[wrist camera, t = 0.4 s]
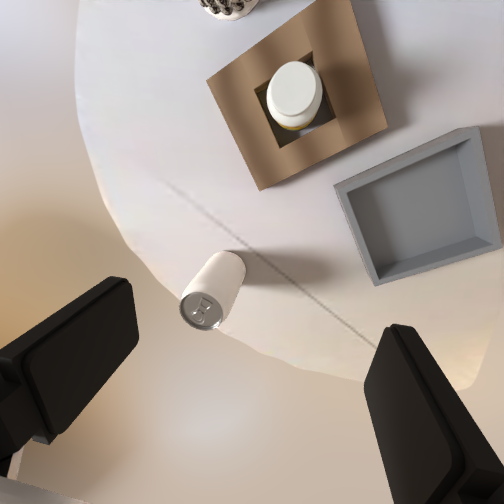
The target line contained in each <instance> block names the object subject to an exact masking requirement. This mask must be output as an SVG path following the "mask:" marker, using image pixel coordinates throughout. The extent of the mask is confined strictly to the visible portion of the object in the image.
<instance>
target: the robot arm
mask: <svg viewBox="0 0 504 504" xmlns="http://www.w3.org/2000/svg"><path fill="white" fill-rule="evenodd" d="M138 340H139V331H138V325H137V318H136V311H135V304H134V298H133V290H132V285H131V284H130V283H129V282H128V280H127V279H125V278H120V277H114V276H110V277H108V278H106V279H105V280H103V281H102V282H100V283H99V284H97V285H96V286H94V287H93V288H91V289H90V290H88V291H87V292H85V293H84V294H82V295H81V296H79V297H78V298H76V299H75V300H73V301H72V302H70V303H69V304H67V305H66V306H64V307H63V308H61V309H60V310H59V311H57V312H56V313H54V314H53V315H51V316H50V317H48V318H47V319H45V320H44V321H42V322H41V323H39V324H38V325H36V326H35V327H33V328H32V329H30V330H29V331H27V332H26V333H24V334H23V335H21V336H20V337H18V338H17V339H15V340H14V341H12V342H11V343H9V344H8V345H6V346H5V347H3V348H2V349H0V504H91V503H87V502H84V501H81V500H77V499H74V498H71V497H68V496H64V495H61V494H58V493H54V492H51V491H48V490H45V489H41V488H38V487H35V486H31V485H28V484H25V483H21V482H18V481H16V479H17V474H18V470H19V466H20V461H21V457H22V453H23V449H24V445H25V444H26V443H27V442H28V441H29V440H30V438H31V437H32V439H33V441H36V442H40V443H43V444H47V445H50V443H51V442H52V441H53V440H54V439H55V438H56V436H57V435H58V434H61V433H63V432H64V431H65V430H66V429H67V428H68V427H69V426H70V425H71V424H72V422H73V421H74V420H75V419H76V418H77V416H78V415H79V414H80V413H81V412H82V410H83V409H84V408H85V407H86V406H87V404H88V403H89V402H90V401H91V400H92V398H93V397H94V396H95V395H96V393H97V392H98V391H99V390H100V389H101V388H102V386H103V385H104V384H105V383H106V381H107V380H108V379H109V378H110V376H111V375H112V374H113V373H114V372H115V371H116V369H117V368H118V367H119V366H120V364H121V363H122V362H123V361H124V360H125V359H126V357H127V356H128V355H129V354H130V353H131V351H132V350H133V349H134V348H135V347H136V345H137V343H138ZM364 393H365V397H366V401H367V405H368V408H369V412H370V416H371V419H372V423H373V427H374V431H375V435H376V438H377V442H378V446H379V449H380V453H381V457H382V461H383V464H384V468H385V472H386V475H387V479H388V483H389V487H390V490H391V494H392V498H393V501H394V504H504V466H503V464H502V463H501V461H500V460H499V458H498V457H497V455H496V453H495V452H494V450H493V449H492V447H491V446H490V444H489V443H488V441H487V440H486V438H485V436H484V435H483V434H482V432H481V430H480V429H479V427H478V426H477V424H476V423H475V421H474V420H473V418H472V416H471V415H470V413H469V412H468V410H467V409H466V407H465V406H464V404H463V402H462V401H461V400H460V398H459V396H458V395H457V393H456V392H455V390H454V389H453V387H452V385H451V384H450V382H449V381H448V379H447V378H446V376H445V375H444V373H443V372H442V370H441V368H440V367H439V365H438V364H437V362H436V361H435V359H434V358H433V356H432V355H431V353H430V351H429V350H428V348H427V347H426V345H425V344H424V342H423V341H422V339H421V338H420V336H419V334H418V333H417V331H416V330H415V329H414V328H413V327H411V326H405V325H399V324H392V325H391V326H390V327H386V328H385V329H384V332H383V334H382V337H381V340H380V342H379V345H378V348H377V350H376V353H375V355H374V358H373V361H372V363H371V366H370V369H369V371H368V374H367V377H366V379H365V382H364Z"/></svg>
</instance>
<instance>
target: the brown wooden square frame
mask: <svg viewBox="0 0 504 504" xmlns="http://www.w3.org/2000/svg"><path fill="white" fill-rule="evenodd" d="M310 59H312V62H313V64H314V67H315V70H316V72H317V74H318V76H319V78H320V80H321V84H322V89H323V92H324V95H325V98H326V100H327V103H328V106H329V109H330V111H331V114H332V117H333V120H331V121H329V122H327V123H326V124H324V125H322V126H320V127H318V128H317V129H315V130H313V131H311V132H309V133H307V134H306V135H304V136H302V137H300V138H298V139H297V140H295V141H293V142H291V143H289V144H287V145H286V146H284V147H282V148H280V145H279V143H278V141H277V138H276V136H275V134H274V131H273V129H272V127H271V125H270V122H269V120H268V118H267V115H266V113H265V111H264V108H263V106H262V104H261V102H260V99H259V97H258V95H257V94H258V93H259V92H261V91H262V90H264V89H265V88H267V87H268V86H269V83H270V81H271V79H272V77H273V76H274V74H275V73H276V72H277V71H278V69H279V68H280V67H282V66H283V65H285V64H286V63H288V62H293V61H299V62H303V63H305V62H307V61H308V60H310ZM206 82H207V84H208V86H209V88H210V90H211V92H212V94H213V96H214V98H215V100H216V102H217V104H218V106H219V109H220V111H221V113H222V115H223V117H224V119H225V121H226V123H227V125H228V127H229V129H230V131H231V133H232V135H233V137H234V140H235V142H236V144H237V146H238V148H239V150H240V152H241V154H242V156H243V158H244V160H245V162H246V164H247V166H248V168H249V171H250V173H251V175H252V177H253V179H254V181H255V183H256V185H257V187H258V189H259V191H262V190H264V189H266V188H268V187H270V186H272V185H274V184H276V183H278V182H280V181H282V180H284V179H286V178H288V177H290V176H292V175H294V174H296V173H298V172H300V171H302V170H304V169H306V168H308V167H310V166H312V165H314V164H316V163H318V162H320V161H322V160H324V159H326V158H328V157H330V156H332V155H334V154H336V153H338V152H340V151H342V150H344V149H346V148H348V147H350V146H352V145H354V144H356V143H358V142H360V141H362V140H364V139H366V138H368V137H370V136H372V135H374V134H376V133H378V132H380V131H382V130H384V129H386V128H388V125H387V122H386V119H385V115H384V112H383V109H382V105H381V102H380V99H379V95H378V92H377V89H376V85H375V82H374V79H373V75H372V72H371V69H370V65H369V62H368V59H367V55H366V52H365V49H364V45H363V42H362V39H361V35H360V32H359V29H358V26H357V22H356V19H355V16H354V12H353V9H352V6H351V2H350V0H316V1H315V2H313V3H312V4H310V5H309V6H308V7H306V8H305V9H304V10H302V11H301V12H300V13H298V14H297V15H295V16H294V17H293V18H291V19H290V20H289V21H287V22H286V23H284V24H283V25H282V26H280V27H279V28H278V29H276V30H275V31H273V32H272V33H271V34H269V35H268V36H267V37H265V38H264V39H262V40H261V41H260V42H258V43H257V44H256V45H254V46H253V47H252V48H250V49H249V50H247V51H246V52H245V53H243V54H242V55H241V56H239V57H238V58H236V59H235V60H234V61H232V62H231V63H230V64H228V65H227V66H225V67H224V68H223V69H221V70H220V71H219V72H217V73H216V74H214V75H213V76H212V77H210V78H209V79H208V80H206Z"/></svg>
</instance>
